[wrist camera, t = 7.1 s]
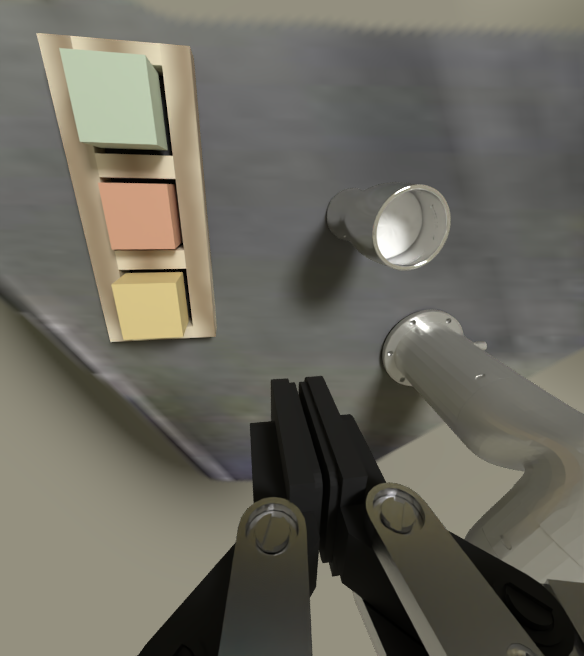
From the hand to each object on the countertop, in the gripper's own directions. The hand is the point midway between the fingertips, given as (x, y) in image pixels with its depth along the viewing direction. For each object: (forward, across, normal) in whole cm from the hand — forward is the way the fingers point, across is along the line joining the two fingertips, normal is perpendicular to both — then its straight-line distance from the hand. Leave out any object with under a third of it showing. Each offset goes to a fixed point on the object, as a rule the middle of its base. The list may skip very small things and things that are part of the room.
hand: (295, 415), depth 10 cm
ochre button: (+28, +11, +5) cm, 31 cm away
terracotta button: (+30, +11, -4) cm, 32 cm away
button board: (+31, +11, -4) cm, 33 cm away
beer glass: (+31, -12, -4) cm, 34 cm away
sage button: (+28, +11, -13) cm, 33 cm away
